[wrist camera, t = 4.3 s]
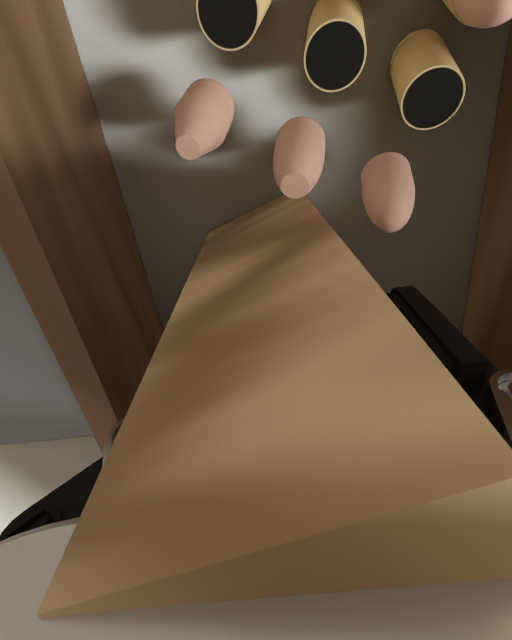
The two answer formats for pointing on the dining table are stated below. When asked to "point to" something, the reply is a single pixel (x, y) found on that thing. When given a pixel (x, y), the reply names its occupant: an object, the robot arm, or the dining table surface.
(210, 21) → the ammunition
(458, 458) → the oak block
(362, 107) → the dining table surface
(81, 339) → the caddy
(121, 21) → the dining table surface
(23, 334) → the slate pad
